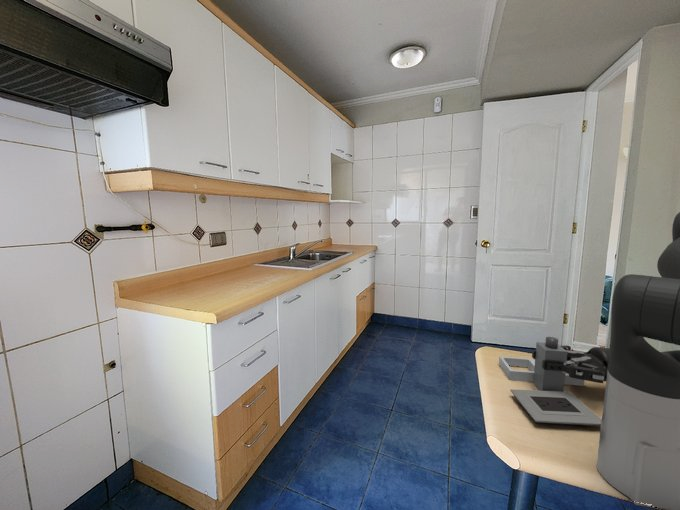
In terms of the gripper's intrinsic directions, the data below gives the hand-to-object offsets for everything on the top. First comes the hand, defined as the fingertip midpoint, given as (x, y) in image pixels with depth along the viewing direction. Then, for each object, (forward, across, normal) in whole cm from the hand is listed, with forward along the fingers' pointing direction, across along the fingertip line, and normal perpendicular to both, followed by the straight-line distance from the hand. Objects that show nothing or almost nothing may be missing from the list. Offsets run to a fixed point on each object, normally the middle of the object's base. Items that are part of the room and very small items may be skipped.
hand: (537, 359), depth 70 cm
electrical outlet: (0, +9, +8) cm, 12 cm away
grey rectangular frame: (-4, -7, +8) cm, 11 cm away
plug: (-3, 0, +8) cm, 8 cm away
